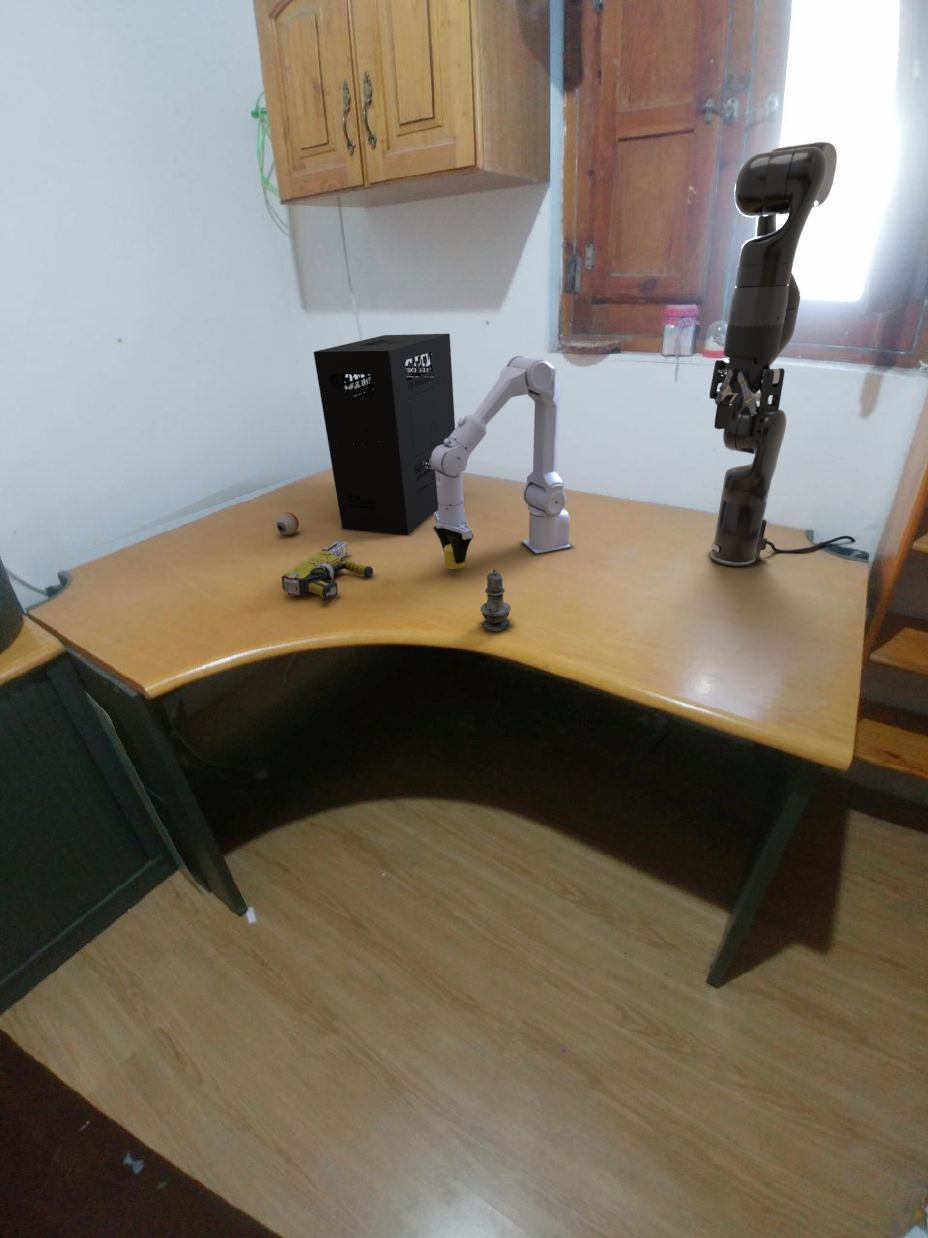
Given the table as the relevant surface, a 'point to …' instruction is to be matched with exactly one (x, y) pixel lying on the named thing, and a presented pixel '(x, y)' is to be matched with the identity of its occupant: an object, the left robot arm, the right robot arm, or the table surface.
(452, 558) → the tin
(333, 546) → the toy gun
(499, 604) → the grey tall turned piece
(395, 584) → the table surface
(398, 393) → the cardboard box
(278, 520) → the eyeball
